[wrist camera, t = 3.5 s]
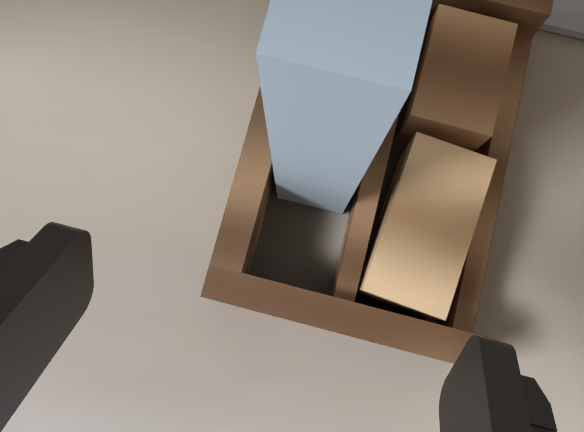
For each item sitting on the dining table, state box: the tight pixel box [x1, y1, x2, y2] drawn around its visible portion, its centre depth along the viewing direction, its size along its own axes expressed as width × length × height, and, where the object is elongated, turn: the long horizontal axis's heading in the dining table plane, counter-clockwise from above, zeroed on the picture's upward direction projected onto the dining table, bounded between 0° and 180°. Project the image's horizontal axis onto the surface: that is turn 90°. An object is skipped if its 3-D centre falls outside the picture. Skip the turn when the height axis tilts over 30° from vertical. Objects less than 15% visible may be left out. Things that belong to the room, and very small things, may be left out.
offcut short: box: [395, 4, 518, 152], centre depth 28 cm, size 6×4×4 cm, turn 164°
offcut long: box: [357, 132, 497, 321], centre depth 27 cm, size 8×4×4 cm, turn 160°
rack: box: [200, 0, 554, 364], centre depth 27 cm, size 19×13×4 cm
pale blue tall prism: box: [255, 0, 432, 214], centre depth 21 cm, size 7×4×17 cm, turn 165°
